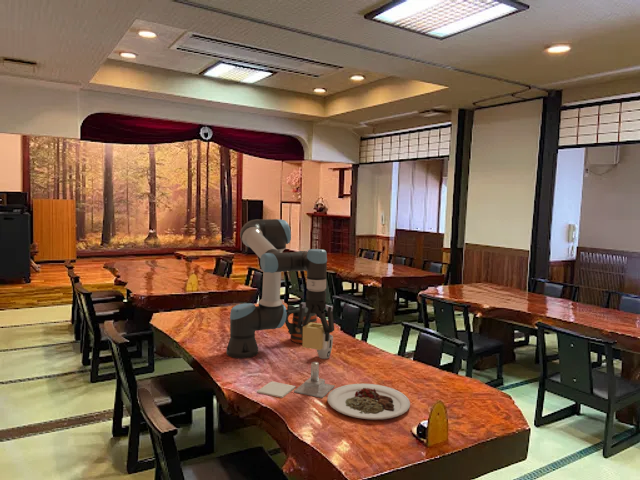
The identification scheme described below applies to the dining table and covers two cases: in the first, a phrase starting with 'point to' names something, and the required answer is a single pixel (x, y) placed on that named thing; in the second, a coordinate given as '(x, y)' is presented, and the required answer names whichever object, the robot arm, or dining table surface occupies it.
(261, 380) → the dining table surface
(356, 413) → the plated food
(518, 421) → the dining table surface
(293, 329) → the beer stein
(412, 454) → the dining table surface
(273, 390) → the felt mat
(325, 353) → the cup
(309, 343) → the yellow square planter
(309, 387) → the post stand
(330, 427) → the dining table surface
